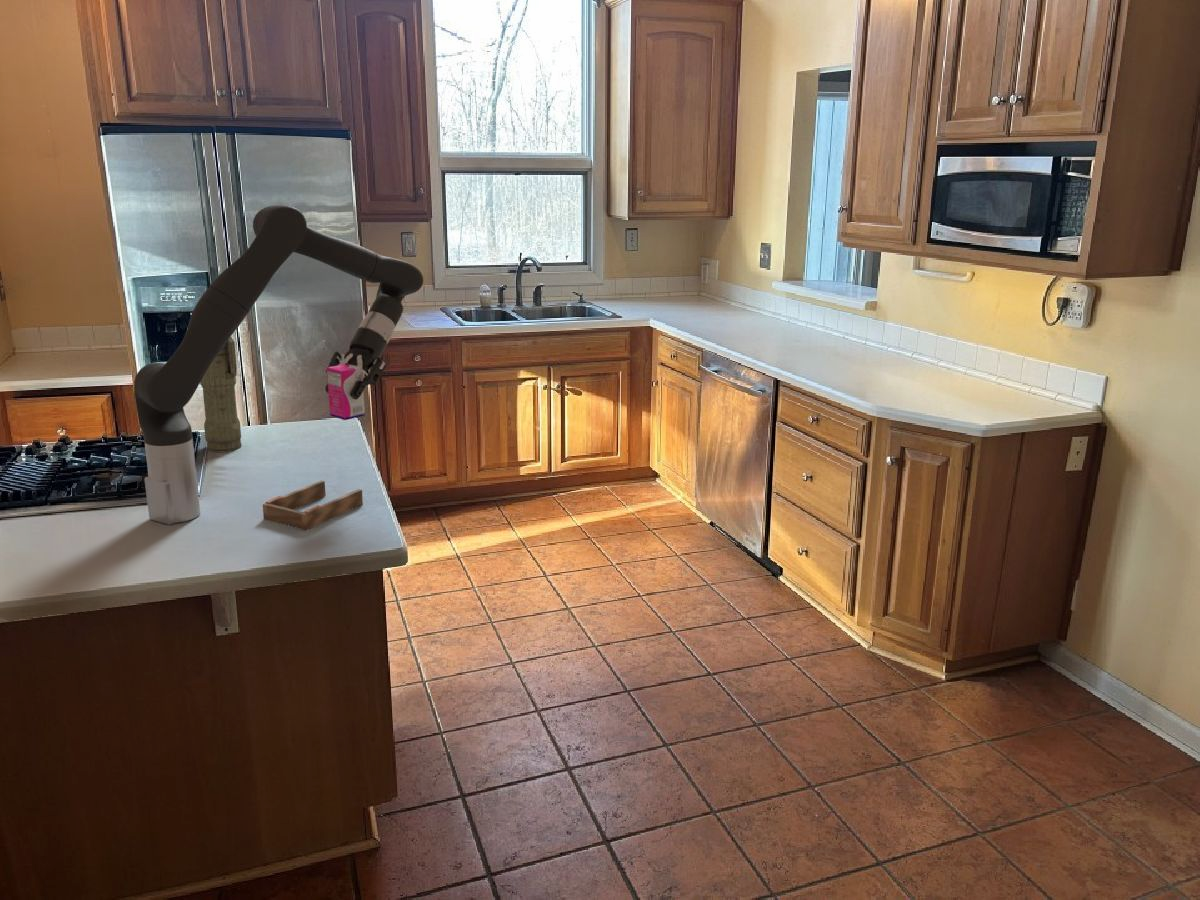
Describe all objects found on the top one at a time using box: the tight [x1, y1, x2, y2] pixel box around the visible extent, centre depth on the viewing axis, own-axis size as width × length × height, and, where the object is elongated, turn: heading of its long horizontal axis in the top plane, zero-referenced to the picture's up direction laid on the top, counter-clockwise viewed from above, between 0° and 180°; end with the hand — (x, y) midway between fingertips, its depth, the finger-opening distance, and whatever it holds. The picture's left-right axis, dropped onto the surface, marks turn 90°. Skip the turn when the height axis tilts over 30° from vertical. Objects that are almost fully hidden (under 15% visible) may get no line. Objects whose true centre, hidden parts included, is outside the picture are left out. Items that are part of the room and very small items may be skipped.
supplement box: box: [326, 364, 366, 421], centre depth 204 cm, size 6×6×12 cm
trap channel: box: [262, 480, 364, 531], centre depth 199 cm, size 18×12×4 cm, turn 154°
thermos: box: [199, 336, 242, 453], centre depth 236 cm, size 9×12×35 cm
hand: (341, 395), depth 203 cm, fingers closed on supplement box, 6 cm apart
